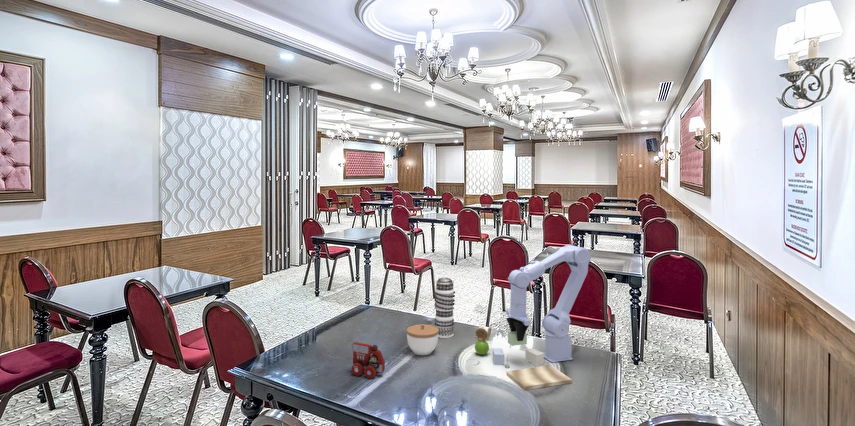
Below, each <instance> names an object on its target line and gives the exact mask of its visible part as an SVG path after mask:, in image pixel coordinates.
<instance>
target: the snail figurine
mask: <svg viewBox="0 0 855 426" xmlns="http://www.w3.org/2000/svg"><path fill="white" fill-rule="evenodd" d="M492 326H493V324H490V327H488V328H487V330H486V329H485V328H484V327H478V328H477V329H476V330H475V335H476V337H475V340H476V343H475V345H474V350H475V352H476V353H477V354H479V355H480V356H481V355H482V356H483V355H486V354H487V353H488V351H489V349H490V346H489V343H488V342H487V341H488V340H489V339H490V337H491V333H492V330H493V329H492Z"/></svg>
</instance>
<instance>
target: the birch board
mask: <svg viewBox="0 0 855 426" xmlns="http://www.w3.org/2000/svg"><path fill="white" fill-rule="evenodd" d="M505 373H506V374H505V375H506V376H507V377H508V378H510V380H511V381H513V382H514V383H515V384H516V385H518V386H519V387H520V388H521V389H522V390H523V391H528V390H529V391H530V390H535V389H542V388H549V387H555V386H561V385H567V384H568V385H569V384H572V383H573V379H572V378H570V377H569V376H567V375H566V374H564V373H563V372H562V371H560V370H558V369H557V368H556V367H554V366H553V365H552V364H550V365H544V366H535V367H528V368H522V369H514V370H508V371H506V372H505Z"/></svg>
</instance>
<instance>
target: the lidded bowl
mask: <svg viewBox="0 0 855 426" xmlns="http://www.w3.org/2000/svg"><path fill="white" fill-rule="evenodd" d="M438 333H439V329H438V328H437V327H435V325H432V324H424V323H421V324H414V325H411V326H408V327H407V328H406V340H407V345H408V347H409V348H410V350H411V351H412V352H413V354H414V355H418V356H428V355H431V354H432V352H433V351H434V350H435V349H436V347H437V345H438V342H439V341H438V340H439V337H438Z"/></svg>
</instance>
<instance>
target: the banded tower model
mask: <svg viewBox="0 0 855 426" xmlns="http://www.w3.org/2000/svg"><path fill="white" fill-rule="evenodd" d="M435 283H436V285H435V286H436V287H435V291H434V299H433V300H434V310H435V318H434V326H435V327H437V328H438V329H439V333H438V338H440V339H449V338H452V337H454V335H455V334H454V333H455V331H454V329H455V327H454V324H455V322H454V321H455V319H454V310H455V307H454V305H455V303H454V302H455V299H454V298H455V297H456V295H455V294H456V291H455V290H454V283H455V282H454V280H452V279H451V278H450V277H439V278H438V279H437V280H436V281H435Z"/></svg>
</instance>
